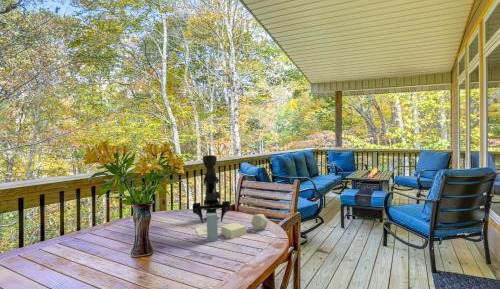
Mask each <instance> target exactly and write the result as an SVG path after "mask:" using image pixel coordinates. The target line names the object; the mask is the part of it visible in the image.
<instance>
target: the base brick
mask: <svg viewBox="0 0 500 289" xmlns="http://www.w3.org/2000/svg"><path fill="white" fill-rule="evenodd" d="M220 228H221V230H220V231H221V235H222V236H224V237H227V238H229V239H231V240H232V239H236V238H239V237H241V236H245V235H247V226H245V225H243V224H240V223H237V222H233V223H229V224H226V225H221V227H220Z"/></svg>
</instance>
